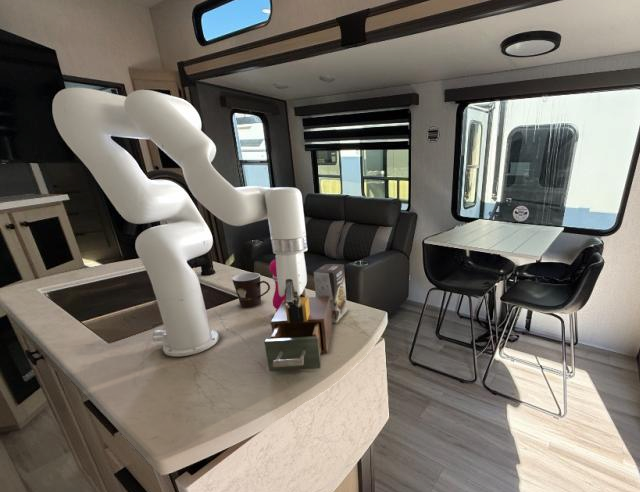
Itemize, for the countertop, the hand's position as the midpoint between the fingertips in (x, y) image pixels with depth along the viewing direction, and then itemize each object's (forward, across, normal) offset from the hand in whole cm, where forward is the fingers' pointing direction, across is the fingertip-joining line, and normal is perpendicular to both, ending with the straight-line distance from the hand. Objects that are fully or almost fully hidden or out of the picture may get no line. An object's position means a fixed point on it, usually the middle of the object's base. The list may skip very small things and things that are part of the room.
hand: (299, 316), depth 78 cm
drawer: (+9, +5, 0) cm, 10 cm away
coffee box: (+10, -20, +6) cm, 23 cm away
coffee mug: (+10, -32, -22) cm, 40 cm away
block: (0, 0, 0) cm, 0 cm away
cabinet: (+10, -6, 0) cm, 12 cm away
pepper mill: (+10, -23, -9) cm, 27 cm away
